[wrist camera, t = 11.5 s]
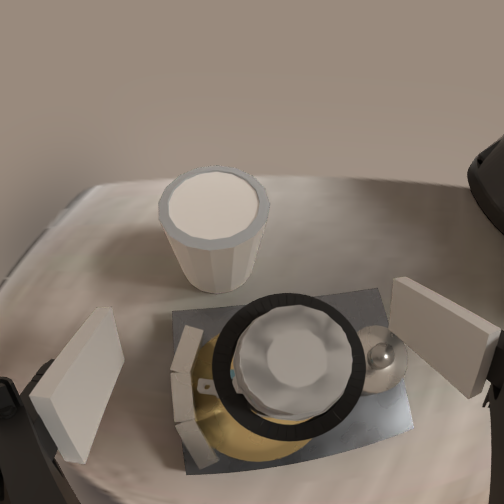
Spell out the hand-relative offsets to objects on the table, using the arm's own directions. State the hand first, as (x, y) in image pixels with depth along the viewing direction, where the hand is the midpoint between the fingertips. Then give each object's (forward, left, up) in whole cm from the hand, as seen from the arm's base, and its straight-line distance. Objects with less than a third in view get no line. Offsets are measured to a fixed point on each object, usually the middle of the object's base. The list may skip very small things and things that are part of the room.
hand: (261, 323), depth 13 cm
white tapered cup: (+2, -8, -8) cm, 12 cm away
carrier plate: (-2, +2, -8) cm, 9 cm away
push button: (0, +2, -7) cm, 7 cm away
